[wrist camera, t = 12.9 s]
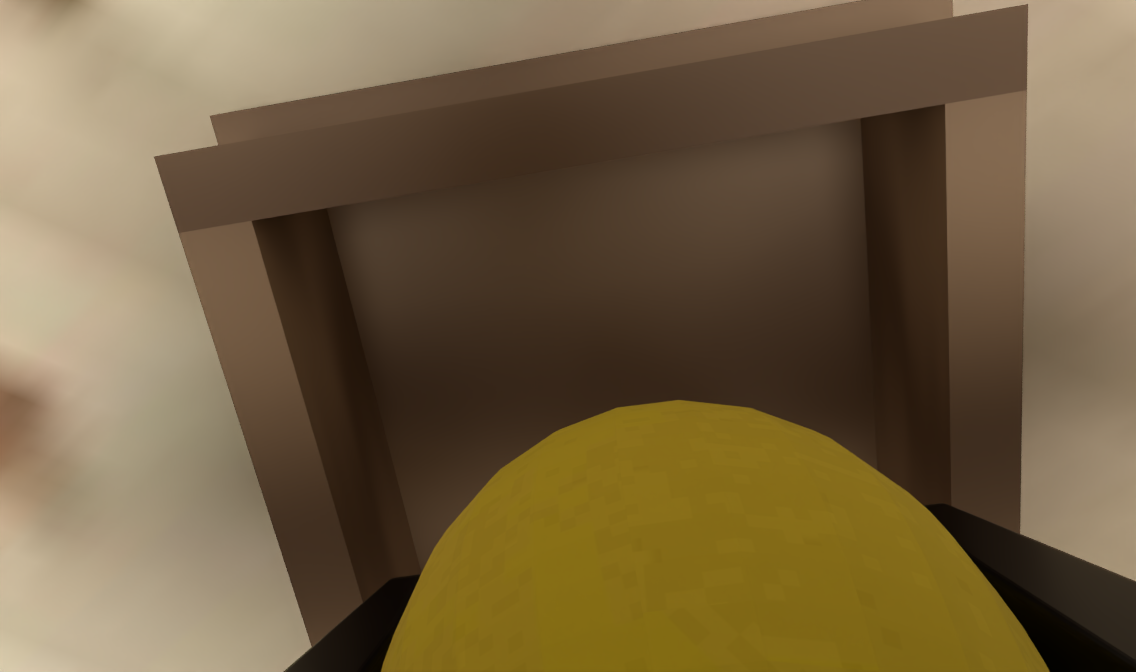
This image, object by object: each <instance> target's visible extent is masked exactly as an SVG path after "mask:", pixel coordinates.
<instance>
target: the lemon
mask: <svg viewBox="0 0 1136 672" xmlns="http://www.w3.org/2000/svg"><path fill="white" fill-rule="evenodd" d="M381 672H1050V671H1049V669H1048V667H1047V665H1046V664H1045V662H1044V660H1043V659H1042V657H1041V655H1040V654H1039V652H1038V651H1037V649H1036V647H1035V646H1034V644H1033V642H1032V641H1031V639H1030V638H1029V636H1028V634H1027V633H1026V631H1025V629H1024V628H1023V626H1022V625H1021V624H1020V622H1019V621H1018V619H1017V618H1016V617H1015V615H1014V614H1013V613H1012V611H1011V610H1010V609H1009V607H1008V606H1007V605H1006V603H1005V602H1004V601H1003V599H1002V598H1001V596H1000V595H999V594H998V593H997V591H996V590H995V589H994V587H993V586H992V585H991V584H990V582H989V581H988V580H987V579H986V577H985V576H984V575H983V574H982V572H981V571H980V570H979V569H978V567H977V566H976V565H975V564H974V562H973V561H972V560H971V559H970V557H969V556H968V555H967V554H966V552H965V551H964V550H963V549H962V547H961V546H960V545H959V544H958V542H957V541H956V540H955V539H954V537H953V536H952V535H951V534H950V533H949V532H948V531H947V530H946V528H945V527H944V526H943V525H942V524H941V523H940V522H939V521H938V520H937V519H936V517H935V516H934V515H933V514H932V513H931V512H930V511H929V510H928V509H927V508H926V507H924V506H923V505H922V504H921V503H920V502H919V501H918V500H916V499H915V498H914V497H913V496H912V495H911V494H910V493H908V492H907V491H906V490H904V489H903V488H901V487H900V486H899V485H897V484H896V483H894V482H893V481H891V480H890V479H889V478H887V477H886V476H884V475H883V474H881V473H880V472H879V471H877V470H876V469H874V468H873V467H871V466H870V465H869V464H867V463H866V462H864V461H863V460H861V459H860V458H858V457H857V456H856V455H854V454H853V453H851V452H850V451H848V450H847V449H846V448H844V447H843V446H841V445H840V444H838V443H837V442H835V441H834V440H832V439H831V438H829V437H827V436H825V435H822V434H820V433H818V432H816V431H814V430H811V429H808V428H806V427H803V426H800V425H797V424H794V423H792V422H789V421H786V420H783V419H780V418H778V417H775V416H772V415H769V414H766V413H764V412H761V411H758V410H755V409H753V408H748V407H740V406H730V405H721V404H712V403H702V402H693V401H684V400H674V401H666V402H658V403H650V404H642V405H634V406H626V407H618V408H615V409H612V410H610V411H607V412H604V413H602V414H599V415H596V416H594V417H591V418H588V419H586V420H583V421H581V422H578V423H575V424H573V425H570V426H567V427H565V428H562V429H560V430H558V431H556V432H554V433H552V434H551V435H549V436H548V437H547V438H545V439H544V440H542V441H541V442H539V443H538V444H536V445H535V446H533V447H532V448H530V449H529V450H528V451H526V452H525V453H523V454H522V455H520V456H519V457H517V458H516V459H514V460H513V461H511V462H510V463H509V464H507V465H506V466H504V467H503V468H501V469H500V470H499V471H498V472H497V473H496V474H495V475H494V476H493V477H492V478H491V479H490V480H489V482H488V483H487V484H486V485H485V486H484V487H483V489H482V490H481V491H480V492H479V493H478V494H477V495H476V497H475V498H474V499H473V500H472V501H471V502H470V503H469V505H468V506H467V507H466V508H465V509H464V510H463V512H462V513H461V514H460V515H459V516H458V517H457V518H456V520H455V521H454V522H453V523H452V524H451V525H450V526H449V528H448V529H447V530H446V532H445V533H444V534H443V536H442V537H441V539H440V540H439V542H438V543H437V545H436V546H435V548H434V549H433V551H432V553H431V555H430V557H429V559H428V561H427V563H426V565H425V567H424V569H423V571H422V573H421V575H420V578H419V580H418V582H417V584H416V586H415V589H414V591H413V593H412V595H411V597H410V600H409V602H408V604H407V606H406V608H405V611H404V613H403V615H402V617H401V619H400V622H399V624H398V626H397V628H396V630H395V633H394V635H393V638H392V641H391V643H390V646H389V649H388V651H387V654H386V657H385V659H384V662H383V666H382V669H381Z"/></svg>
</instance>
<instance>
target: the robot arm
mask: <svg viewBox="0 0 1136 672" xmlns="http://www.w3.org/2000/svg"><path fill="white" fill-rule="evenodd" d="M923 506H924V507H926V508H927V509H928V510H929V511H930V512H931V513H932V514H933V515H934V516H935V517H936V519H937V520H938V521H939V522H940V523H941V524H942V525H943V526H944V527H945V528H946V530H947V531H948V532H949V533H950V534H951V535H952V536H953V537H954V539H955V540H956V541H957V542H958V544H959V545H960V546H961V547H962V549H963V550H964V551H965V552H966V554H967V555H968V556H969V557H970V559H971V560H972V561H973V562H974V564H975V565H976V566H977V567H978V569H979V570H980V571H981V572H982V574H983V575H984V576H985V577H986V579H987V580H988V581H989V582H990V584H991V585H992V586H993V587H994V589H995V590H996V591H997V593H998V594H999V595H1000V596H1001V598H1002V599H1003V601H1004V602H1005V603H1006V605H1007V606H1008V607H1009V609H1010V610H1011V611H1012V613H1013V614H1014V615H1015V617H1016V618H1017V619H1018V621H1019V622H1020V624H1021V625H1022V626H1023V628H1024V629H1025V631H1026V633H1027V634H1028V636H1029V638H1030V639H1031V641H1032V642H1033V644H1034V646H1035V647H1036V649H1037V651H1038V652H1039V654H1040V655H1041V657H1042V659H1043V660H1044V662H1045V664H1046V665H1047V667H1048V669H1049V671H1050V672H1136V581H1133V580H1131V579H1128V578H1126V577H1124V576H1121V575H1119V574H1116V573H1114V572H1111V571H1109V570H1107V569H1104V568H1102V567H1099V566H1097V565H1094V564H1092V563H1089V562H1087V561H1085V560H1082V559H1080V558H1077V557H1075V556H1072V555H1070V554H1068V553H1065V552H1063V551H1060V550H1058V549H1055V548H1053V547H1050V546H1048V545H1046V544H1043V543H1041V542H1038V541H1036V540H1033V539H1031V538H1029V537H1026V536H1024V535H1021V534H1019V533H1016V532H1014V531H1011V530H1009V529H1007V528H1004V527H1002V526H999V525H997V524H994V523H992V522H989V521H987V520H985V519H982V518H980V517H977V516H975V515H972V514H970V513H968V512H965V511H963V510H960V509H958V508H955V507H953V506H950V505H948V504H945V503H937V504H930V505H923ZM420 575H421V574H417V575H410V576H403V577H395V578H392V579H390V580H389V581H387V582H386V583H385V584H384V585H383V586H382V587H380V588H379V589H378V590H377V591H376V592H375V593H374V594H372V595H371V596H370V597H369V598H368V599H367V600H366V601H364V602H363V603H362V604H361V605H360V606H359V607H357V608H356V609H355V610H354V611H353V612H352V613H351V614H349V615H348V616H347V617H346V618H345V619H344V620H343V621H341V622H340V623H339V624H338V625H337V626H336V627H334V628H333V629H332V630H331V631H330V632H329V633H328V634H326V635H325V636H324V637H323V638H322V639H321V640H320V641H318V642H317V643H316V644H315V645H314V646H313V647H312V648H310V649H309V650H308V651H307V652H306V653H305V654H303V655H302V656H301V657H300V658H299V659H298V660H297V661H295V662H294V663H293V664H292V665H291V666H290V667H289V668H287V669H286V670H285V671H284V672H381V669H382V666H383V662H384V659H385V657H386V654H387V651H388V649H389V646H390V643H391V641H392V638H393V635H394V633H395V630H396V628H397V626H398V624H399V622H400V619H401V617H402V615H403V613H404V611H405V608H406V606H407V604H408V602H409V600H410V597H411V595H412V593H413V591H414V589H415V586H416V584H417V582H418V580H419V578H420Z"/></svg>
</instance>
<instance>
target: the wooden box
mask: <svg viewBox="0 0 1136 672" xmlns="http://www.w3.org/2000/svg"><path fill="white" fill-rule="evenodd" d="M1027 36H1028V4H1026V5H1021V6H1015V7H1009V8H1003V9H998V10H992V11H986V12H981V13H975V14H969V15H963V16H958V17H953V0H862V1H856V2H851V3H845V4H839V5H834V6H828V7H822V8H817V9H811V10H805V11H800V12H794V13H788V14H783V15H777V16H771V17H766V18H760V19H754V20H749V21H743V22H737V23H732V24H726V25H721V26H715V27H709V28H704V29H698V30H692V31H687V32H681V33H675V34H670V35H664V36H658V37H653V38H647V39H641V40H636V41H630V42H624V43H619V44H613V45H607V46H602V47H596V48H590V49H585V50H579V51H573V52H568V53H562V54H557V55H551V56H545V57H540V58H534V59H528V60H523V61H517V62H511V63H506V64H500V65H494V66H489V67H483V68H477V69H472V70H466V71H460V72H455V73H449V74H443V75H438V76H432V77H426V78H421V79H415V80H409V81H404V82H398V83H392V84H387V85H381V86H376V87H370V88H364V89H359V90H353V91H347V92H342V93H336V94H330V95H325V96H319V97H313V98H308V99H302V100H296V101H291V102H285V103H279V104H274V105H268V106H262V107H257V108H251V109H245V110H240V111H234V112H228V113H223V114H217V115H212V116H210V118H211V121H212V125H213V128H214V132H215V135H216V138H217V142H218V146H213V147H207V148H201V149H195V150H190V151H184V152H178V153H172V154H167V155H161V156H155V157H154V158H155V161H156V164H157V168H158V171H159V174H160V177H161V180H162V183H163V186H164V189H165V192H166V195H167V199H168V202H169V205H170V208H171V211H172V214H173V217H174V220H175V223H176V226H177V230H178V233H179V236H180V239H181V242H182V245H183V248H184V251H185V254H186V258H187V261H188V264H189V267H190V270H191V273H192V276H193V279H194V282H195V285H196V289H197V292H198V295H199V298H200V301H201V304H202V307H203V310H204V313H205V317H206V320H207V323H208V326H209V329H210V332H211V335H212V338H213V341H214V344H215V348H216V351H217V354H218V357H219V360H220V363H221V366H222V369H223V372H224V376H225V379H226V382H227V385H228V388H229V391H230V394H231V397H232V400H233V403H234V407H235V410H236V413H237V416H238V419H239V422H240V425H241V428H242V431H243V435H244V438H245V441H246V444H247V447H248V450H249V453H250V456H251V459H252V462H253V466H254V469H255V472H256V475H257V478H258V481H259V484H260V487H261V490H262V493H263V497H264V500H265V503H266V506H267V509H268V512H269V515H270V518H271V521H272V525H273V528H274V531H275V534H276V537H277V540H278V543H279V546H280V549H281V552H282V556H283V559H284V562H285V565H286V568H287V571H288V574H289V577H290V580H291V584H292V587H293V590H294V593H295V596H296V599H297V602H298V605H299V608H300V611H301V615H302V618H303V621H304V624H305V627H306V630H307V633H308V636H309V639H310V643H311V646H312V647H313V646H314V645H315V644H316V643H317V642H318V641H320V640H321V639H322V638H323V637H324V636H325V635H326V634H328V633H329V632H330V631H331V630H332V629H333V628H334V627H336V626H337V625H338V624H339V623H340V622H341V621H343V620H344V619H345V618H346V617H347V616H348V615H349V614H351V613H352V612H353V611H354V610H355V609H356V608H357V607H359V606H360V605H361V604H362V603H363V602H364V601H366V600H367V599H368V598H369V597H370V596H371V595H372V594H374V593H375V592H376V591H377V590H378V589H379V588H380V587H382V586H383V585H384V584H385V583H386V582H387V581H389V580H390V579H392V578H395V577H403V576H410V575H417V574H421V573H422V571H423V569H424V567H425V565H426V563H427V561H428V559H429V557H430V555H431V553H432V551H433V549H434V548H435V546H436V545H437V543H438V542H439V540H440V539H441V537H442V536H443V534H444V533H445V532H446V530H447V529H448V528H449V526H450V525H451V524H452V523H453V522H454V521H455V520H456V518H457V517H458V516H459V515H460V514H461V513H462V512H463V510H464V509H465V508H466V507H467V506H468V505H469V503H470V502H471V501H472V500H473V499H474V498H475V497H476V495H477V494H478V493H479V492H480V491H481V490H482V489H483V487H484V486H485V485H486V484H487V483H488V482H489V480H490V479H491V478H492V477H493V476H494V475H495V474H496V473H497V472H498V471H499V470H500V469H501V468H503V467H504V466H506V465H507V464H509V463H510V462H511V461H513V460H514V459H516V458H517V457H519V456H520V455H522V454H523V453H525V452H526V451H528V450H529V449H530V448H532V447H533V446H535V445H536V444H538V443H539V442H541V441H542V440H544V439H545V438H547V437H548V436H549V435H551V434H552V433H554V432H556V431H558V430H560V429H562V428H565V427H567V426H570V425H573V424H575V423H578V422H581V421H583V420H586V419H588V418H591V417H594V416H596V415H599V414H602V413H604V412H607V411H610V410H612V409H615V408H618V407H626V406H634V405H642V404H650V403H658V402H666V401H674V400H684V401H693V402H702V403H712V404H721V405H730V406H740V407H748V408H753V409H755V410H758V411H761V412H764V413H766V414H769V415H772V416H775V417H778V418H780V419H783V420H786V421H789V422H792V423H794V424H797V425H800V426H803V427H806V428H808V429H811V430H814V431H816V432H818V433H820V434H822V435H825V436H827V437H829V438H831V439H832V440H834V441H835V442H837V443H838V444H840V445H841V446H843V447H844V448H846V449H847V450H848V451H850V452H851V453H853V454H854V455H856V456H857V457H858V458H860V459H861V460H863V461H864V462H866V463H867V464H869V465H870V466H871V467H873V468H874V469H876V470H877V471H879V472H880V473H881V474H883V475H884V476H886V477H887V478H889V479H890V480H891V481H893V482H894V483H896V484H897V485H899V486H900V487H901V488H903V489H904V490H906V491H907V492H908V493H910V494H911V495H912V496H913V497H914V498H915V499H916V500H918V501H919V502H920V503H921V504H922V505H930V504H937V503H945V504H948V505H950V506H953V507H955V508H958V509H960V510H963V511H965V512H968V513H970V514H972V515H975V516H977V517H980V518H982V519H985V520H987V521H989V522H992V523H994V524H997V525H999V526H1002V527H1004V528H1007V529H1009V530H1011V531H1014V532H1016V533H1019V534H1020V501H1021V434H1022V368H1023V302H1024V235H1025V169H1026V102H1027Z"/></svg>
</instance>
